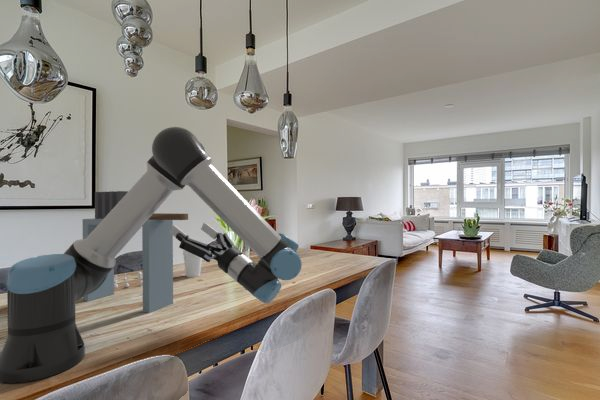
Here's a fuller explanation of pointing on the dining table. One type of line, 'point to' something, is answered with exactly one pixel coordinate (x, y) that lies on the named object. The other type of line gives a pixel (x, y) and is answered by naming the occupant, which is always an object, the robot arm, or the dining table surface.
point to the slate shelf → (146, 264)
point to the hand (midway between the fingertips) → (188, 227)
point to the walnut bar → (168, 216)
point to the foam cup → (192, 264)
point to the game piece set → (126, 279)
